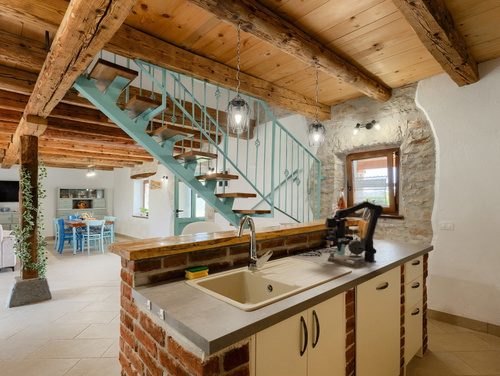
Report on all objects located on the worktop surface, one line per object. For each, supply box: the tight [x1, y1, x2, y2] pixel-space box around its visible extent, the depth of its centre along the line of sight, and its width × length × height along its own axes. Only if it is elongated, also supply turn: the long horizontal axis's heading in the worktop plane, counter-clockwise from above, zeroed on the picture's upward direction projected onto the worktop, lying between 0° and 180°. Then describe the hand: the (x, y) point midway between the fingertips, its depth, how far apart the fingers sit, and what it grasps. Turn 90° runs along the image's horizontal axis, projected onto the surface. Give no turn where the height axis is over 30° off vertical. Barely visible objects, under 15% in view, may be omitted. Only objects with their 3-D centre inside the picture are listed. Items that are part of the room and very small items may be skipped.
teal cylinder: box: [334, 244, 349, 260], centre depth 192 cm, size 7×6×10 cm
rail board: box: [327, 251, 368, 269], centre depth 188 cm, size 12×22×5 cm, turn 29°
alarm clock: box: [347, 233, 364, 257], centre depth 210 cm, size 11×5×16 cm, turn 84°
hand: (340, 251), depth 192 cm, fingers closed on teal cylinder, 3 cm apart
